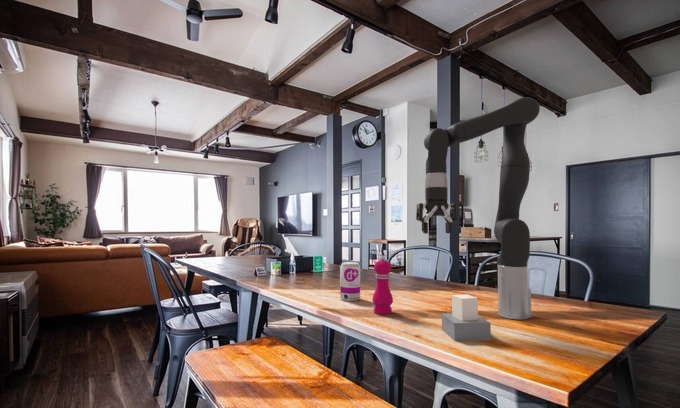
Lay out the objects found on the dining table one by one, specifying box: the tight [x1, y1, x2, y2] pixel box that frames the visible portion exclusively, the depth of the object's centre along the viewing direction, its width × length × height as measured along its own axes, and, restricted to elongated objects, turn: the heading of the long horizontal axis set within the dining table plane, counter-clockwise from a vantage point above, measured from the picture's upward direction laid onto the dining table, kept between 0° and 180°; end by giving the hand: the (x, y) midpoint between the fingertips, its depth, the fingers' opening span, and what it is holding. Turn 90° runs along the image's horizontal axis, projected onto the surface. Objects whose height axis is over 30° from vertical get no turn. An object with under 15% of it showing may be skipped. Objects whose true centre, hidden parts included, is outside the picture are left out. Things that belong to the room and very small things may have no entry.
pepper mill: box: [372, 255, 394, 316], centre depth 123 cm, size 7×7×20 cm
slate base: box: [441, 312, 492, 342], centre depth 98 cm, size 10×10×5 cm
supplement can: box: [339, 261, 361, 302], centre depth 144 cm, size 8×8×15 cm
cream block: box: [451, 293, 479, 321], centre depth 99 cm, size 5×5×6 cm
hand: (436, 233), depth 120 cm, fingers open, 8 cm apart
